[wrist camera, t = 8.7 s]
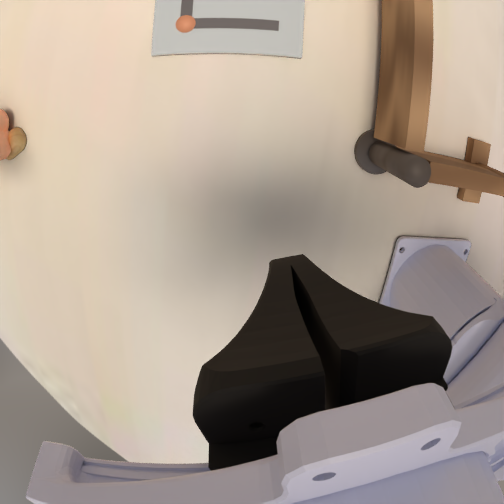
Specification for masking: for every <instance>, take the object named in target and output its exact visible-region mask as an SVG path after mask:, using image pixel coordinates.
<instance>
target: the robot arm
mask: <svg viewBox="0 0 504 504" xmlns="http://www.w3.org/2000/svg"><path fill="white" fill-rule="evenodd" d="M401 247H403V248H402V250H401V251H399V250H400V248H401ZM470 248H471V242H470V241H469V240H464V239H447V238H428V237H409V236H402V237H400V238H398V240H397V242H396V245H395V249H394V253H393V257H392V261H391V264H390V268H389V272H388V275H387V279H386V282H385V286H384V289H383V292H382V296H381V299H380V302H379V303H377V302H375V301H372V300H370V299H367V298H365V297H363V296H361V295H359V294H357V293H355V292H353V291H351V290H349V289H348V288H346V287H344V286H343V285H341V284H340V283H338V282H337V281H335V280H334V279H332V278H331V277H330V276H328V275H327V274H326V273H325V272H323V271H322V270H321V269H320V268H318V267H317V266H316V265H315V264H314V263H313V262H311V261H310V260H309V259H308V258H307V257H306V256H305V255H303V254H302V255H296V256H291V257H285V258H280V259H275V260H271V262H270V263H269V273H268V277H267V280H266V283H265V286H264V289H263V292H262V294H261V296H260V298H259V301H258V303H257V305H256V307H255V309H254V310H253V312H252V314H251V315H250V317H249V319H248V320H247V322H246V323H245V324H244V326H243V327H242V329H241V330H240V331H239V332H238V334H237V335H236V336H235V337H234V338H233V339H232V340H231V341H230V343H229V344H228V345H227V346H226V347H225V348H224V349H222V350H221V351H220V352H219V353H218V354H217V355H215V356H214V357H213V358H212V359H210V360H209V361H208V362H207V363H205V364H204V365H203V366H202V368H201V371H200V374H199V377H198V381H197V385H196V388H195V394H194V405H193V417H194V420H195V423H196V424H197V426H198V427H199V429H200V431H201V432H202V434H203V435H204V437H205V438H206V440H207V441H208V443H209V463H196V464H156V463H134V462H119V461H110V460H100V459H92V458H85V457H83V456H82V455H81V454H80V453H79V452H78V451H77V450H76V449H75V448H73V447H71V446H69V445H65V444H60V443H54V442H48V441H43V443H42V446H41V449H40V451H39V454H38V457H37V460H36V464H35V467H34V470H33V473H32V476H31V480H30V483H29V487H28V490H27V493H26V498H27V499H28V500H30V501H31V502H33V503H35V504H504V496H503V494H502V491H501V489H500V487H499V484H498V482H497V481H500V480H504V299H503V298H502V297H501V296H500V295H499V294H498V293H497V292H496V291H495V290H494V289H493V288H492V287H491V286H490V285H489V284H488V283H487V282H486V281H485V280H484V279H483V278H482V277H481V276H480V275H479V274H478V273H477V272H476V271H475V270H473V269H472V268H471V267H470V266H469V265H468V264H467V263H466V260H467V257H468V254H469V251H470ZM464 250H465V251H464Z"/></svg>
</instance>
